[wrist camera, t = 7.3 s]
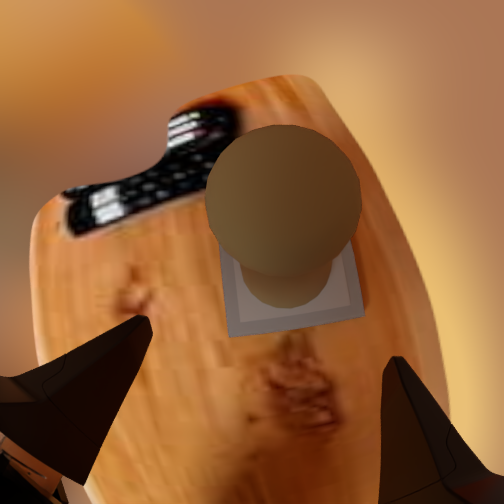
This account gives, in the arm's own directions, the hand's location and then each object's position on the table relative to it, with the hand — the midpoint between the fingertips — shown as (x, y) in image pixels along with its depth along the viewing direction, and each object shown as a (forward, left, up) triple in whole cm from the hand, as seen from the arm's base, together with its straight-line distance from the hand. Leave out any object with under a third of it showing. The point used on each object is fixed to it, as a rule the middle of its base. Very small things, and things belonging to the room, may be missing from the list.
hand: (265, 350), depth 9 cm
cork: (+5, 0, -8) cm, 10 cm away
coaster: (+5, -1, -9) cm, 11 cm away
